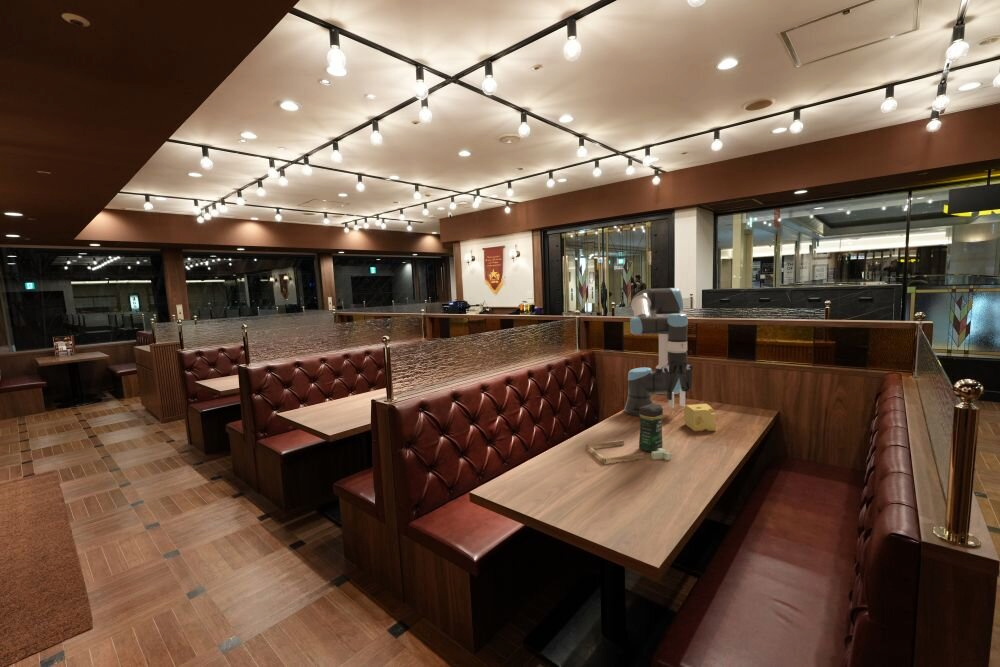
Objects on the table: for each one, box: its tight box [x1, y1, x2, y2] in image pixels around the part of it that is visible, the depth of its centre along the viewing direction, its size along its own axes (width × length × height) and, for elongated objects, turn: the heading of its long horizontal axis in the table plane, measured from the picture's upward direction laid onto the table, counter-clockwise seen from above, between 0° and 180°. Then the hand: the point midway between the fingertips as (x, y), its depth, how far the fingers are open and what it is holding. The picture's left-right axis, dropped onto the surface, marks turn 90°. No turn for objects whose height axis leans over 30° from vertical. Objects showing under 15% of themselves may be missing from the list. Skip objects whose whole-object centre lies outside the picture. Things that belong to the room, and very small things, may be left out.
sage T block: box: [650, 447, 672, 461], centre depth 170 cm, size 6×6×2 cm
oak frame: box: [585, 439, 644, 465], centre depth 175 cm, size 16×17×2 cm
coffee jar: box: [638, 402, 664, 453], centre depth 178 cm, size 10×8×19 cm
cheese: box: [683, 403, 717, 432], centre depth 201 cm, size 10×11×10 cm
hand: (676, 406), depth 180 cm, fingers open, 4 cm apart
